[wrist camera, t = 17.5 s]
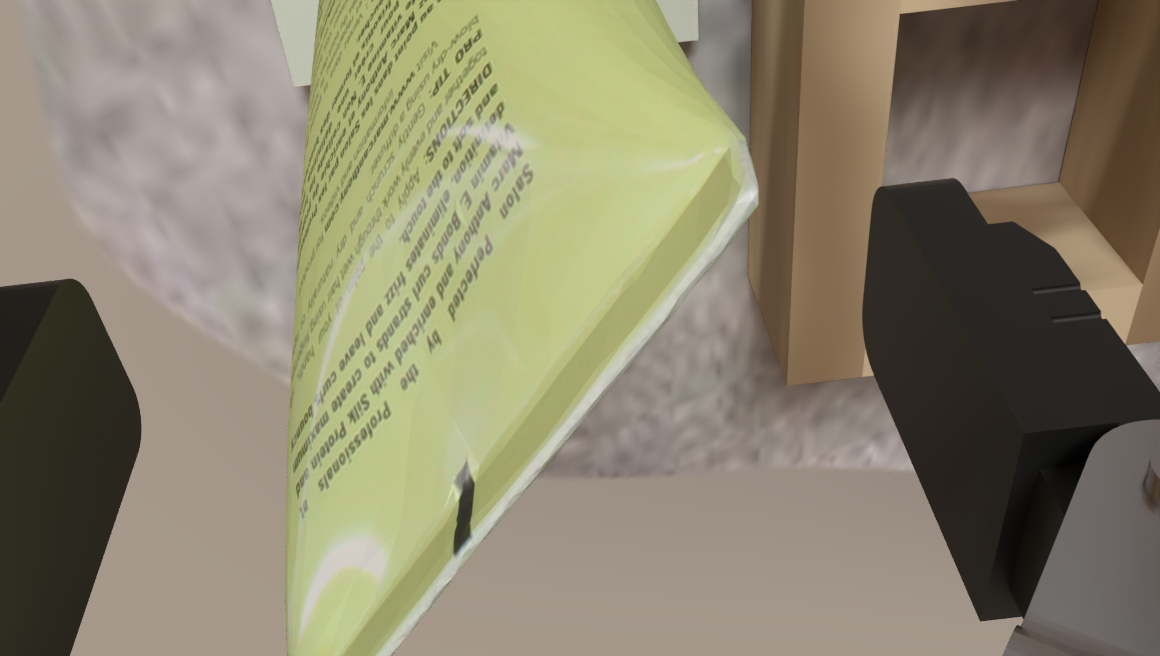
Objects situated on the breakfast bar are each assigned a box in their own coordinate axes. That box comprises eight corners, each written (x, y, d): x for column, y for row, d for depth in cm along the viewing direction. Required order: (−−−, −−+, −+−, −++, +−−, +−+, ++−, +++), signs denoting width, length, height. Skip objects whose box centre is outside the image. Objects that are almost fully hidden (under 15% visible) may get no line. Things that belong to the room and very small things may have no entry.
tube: (602, -45, 25) (810, 696, 10) (390, -1, 26) (286, 788, 10) (556, -321, 22) (771, 189, 7) (310, -267, 22) (-23, 343, 7)
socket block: (1226, -200, 25) (1366, -137, 21) (1112, 231, 33) (1199, 336, 29) (754, -146, 25) (807, -73, 21) (747, 275, 33) (787, 385, 29)
